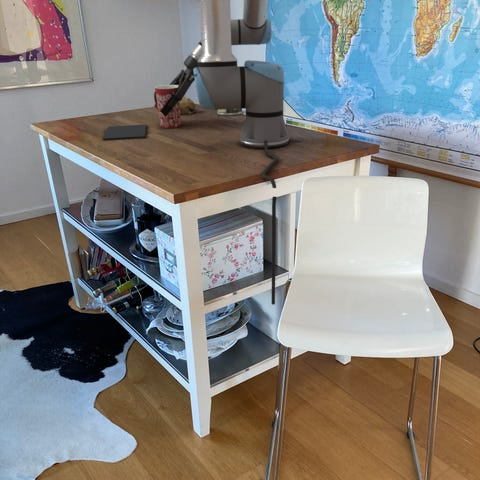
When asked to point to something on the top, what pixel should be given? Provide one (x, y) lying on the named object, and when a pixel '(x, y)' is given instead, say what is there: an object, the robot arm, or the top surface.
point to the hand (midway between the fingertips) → (159, 111)
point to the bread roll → (187, 106)
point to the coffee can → (229, 111)
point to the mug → (161, 98)
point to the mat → (125, 132)
